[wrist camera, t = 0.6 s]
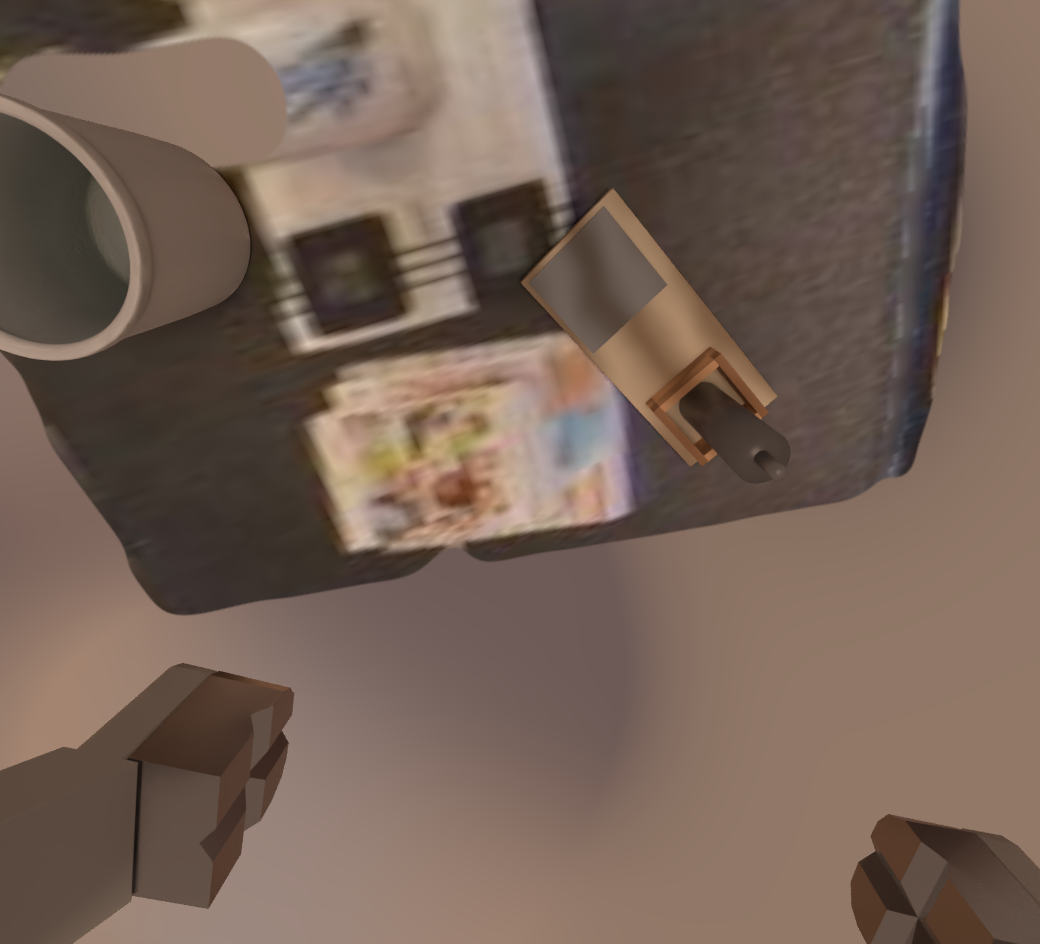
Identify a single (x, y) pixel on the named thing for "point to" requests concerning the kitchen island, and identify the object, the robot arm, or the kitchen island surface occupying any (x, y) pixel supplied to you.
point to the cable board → (642, 322)
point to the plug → (736, 434)
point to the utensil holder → (106, 234)
